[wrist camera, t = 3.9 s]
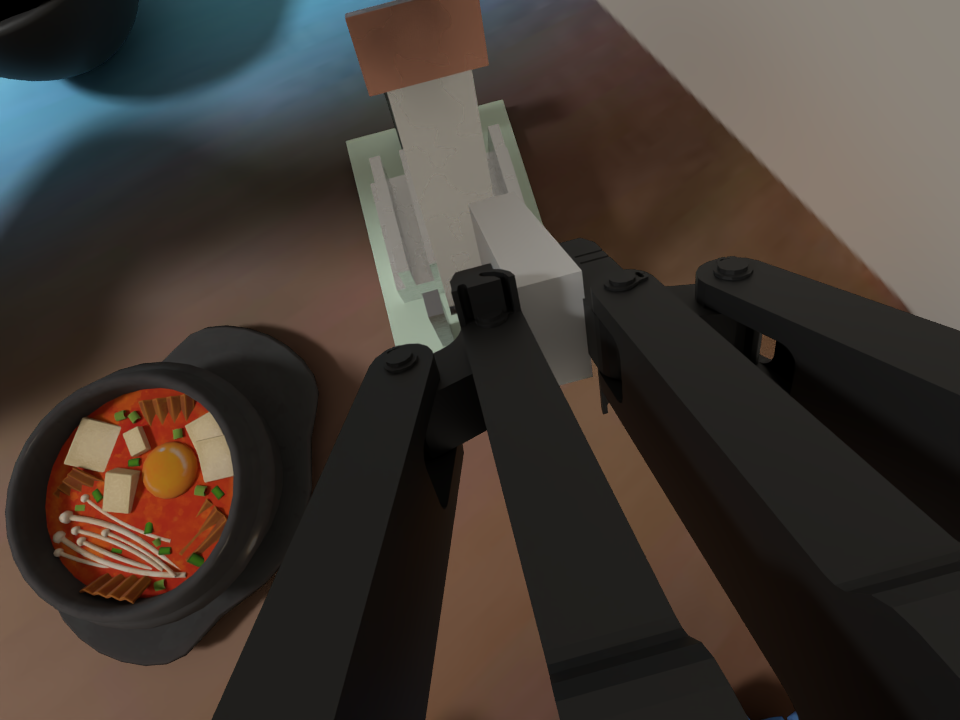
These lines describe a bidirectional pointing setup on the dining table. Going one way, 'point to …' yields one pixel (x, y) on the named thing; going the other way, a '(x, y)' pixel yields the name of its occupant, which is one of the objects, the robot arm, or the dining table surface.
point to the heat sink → (409, 231)
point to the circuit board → (404, 317)
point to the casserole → (166, 492)
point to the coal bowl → (60, 36)
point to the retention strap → (433, 111)
